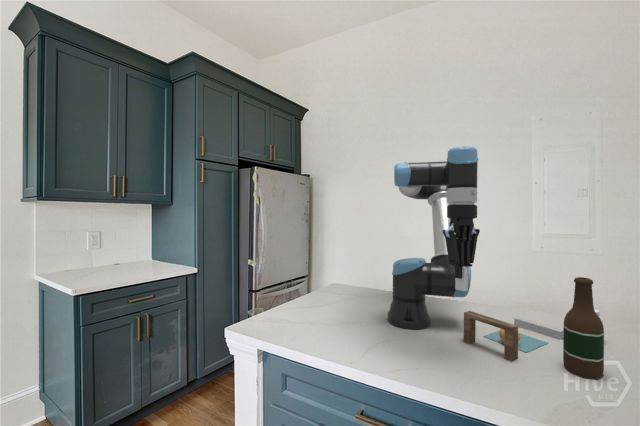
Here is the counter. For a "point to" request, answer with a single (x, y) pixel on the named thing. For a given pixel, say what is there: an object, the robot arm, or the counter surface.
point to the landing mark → (520, 341)
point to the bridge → (510, 329)
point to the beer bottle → (583, 334)
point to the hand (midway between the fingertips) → (461, 289)
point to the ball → (501, 334)
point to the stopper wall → (539, 328)
